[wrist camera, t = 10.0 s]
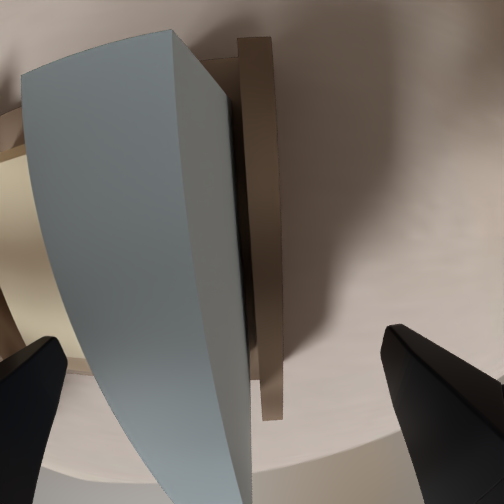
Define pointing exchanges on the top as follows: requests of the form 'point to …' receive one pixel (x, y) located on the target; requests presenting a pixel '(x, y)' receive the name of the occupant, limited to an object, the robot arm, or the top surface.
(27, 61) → the top surface
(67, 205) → the panel
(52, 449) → the top surface
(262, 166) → the rack
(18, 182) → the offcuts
